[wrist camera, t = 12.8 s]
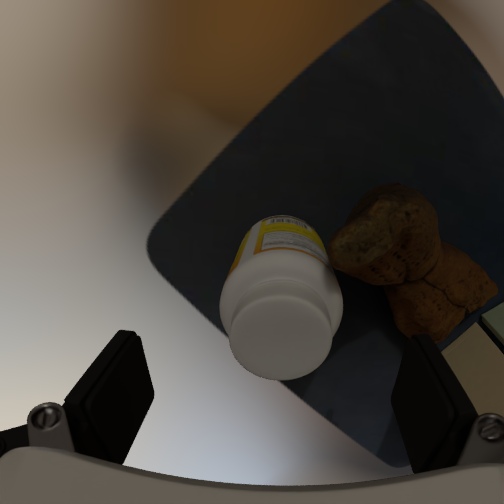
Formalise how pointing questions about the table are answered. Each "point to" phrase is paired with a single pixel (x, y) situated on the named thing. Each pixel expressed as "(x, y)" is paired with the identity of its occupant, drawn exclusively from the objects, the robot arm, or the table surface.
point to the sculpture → (409, 261)
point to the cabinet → (478, 369)
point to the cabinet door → (495, 321)
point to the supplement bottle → (281, 300)
